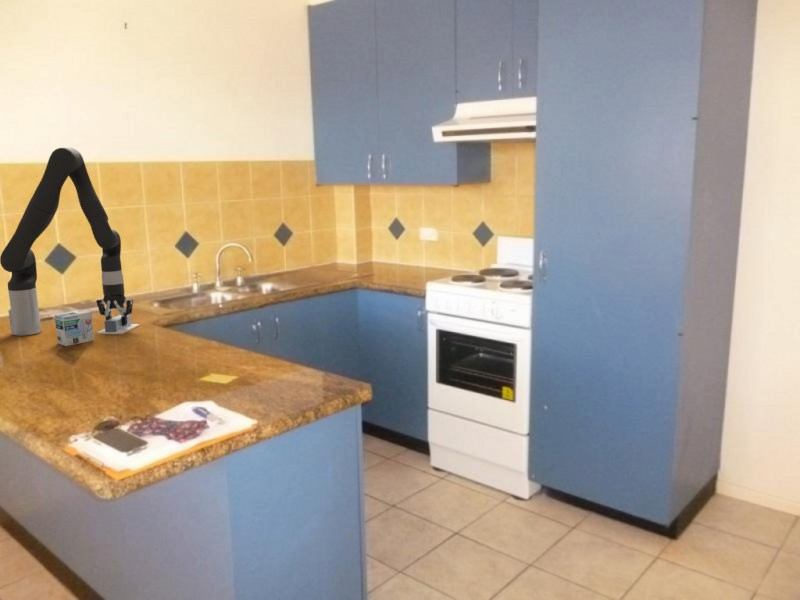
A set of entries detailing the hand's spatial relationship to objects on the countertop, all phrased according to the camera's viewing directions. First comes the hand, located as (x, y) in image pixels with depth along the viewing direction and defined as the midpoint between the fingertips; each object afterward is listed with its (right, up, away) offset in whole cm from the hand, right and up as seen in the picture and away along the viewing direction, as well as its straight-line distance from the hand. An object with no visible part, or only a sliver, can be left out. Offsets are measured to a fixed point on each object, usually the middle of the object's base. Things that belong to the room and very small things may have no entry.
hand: (117, 325), depth 259 cm
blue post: (+1, +2, +7) cm, 7 cm away
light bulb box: (-8, -6, -16) cm, 19 cm away
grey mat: (0, -2, +1) cm, 2 cm away
